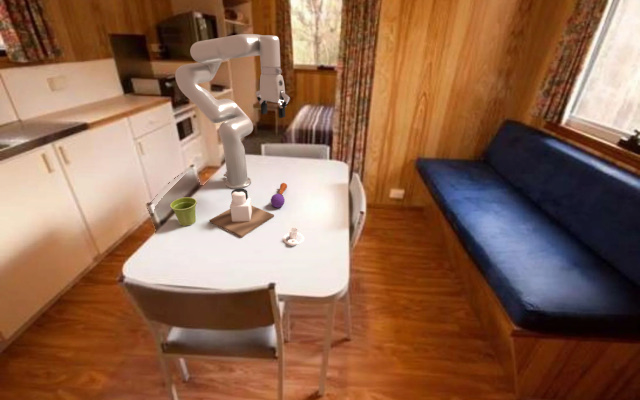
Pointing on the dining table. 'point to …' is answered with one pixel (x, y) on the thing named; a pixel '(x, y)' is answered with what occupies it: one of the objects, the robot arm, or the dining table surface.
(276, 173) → the dining table surface
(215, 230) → the dining table surface
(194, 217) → the plant pot
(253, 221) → the walnut board
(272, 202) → the purple maraca
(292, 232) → the white rounded piece
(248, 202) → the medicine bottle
